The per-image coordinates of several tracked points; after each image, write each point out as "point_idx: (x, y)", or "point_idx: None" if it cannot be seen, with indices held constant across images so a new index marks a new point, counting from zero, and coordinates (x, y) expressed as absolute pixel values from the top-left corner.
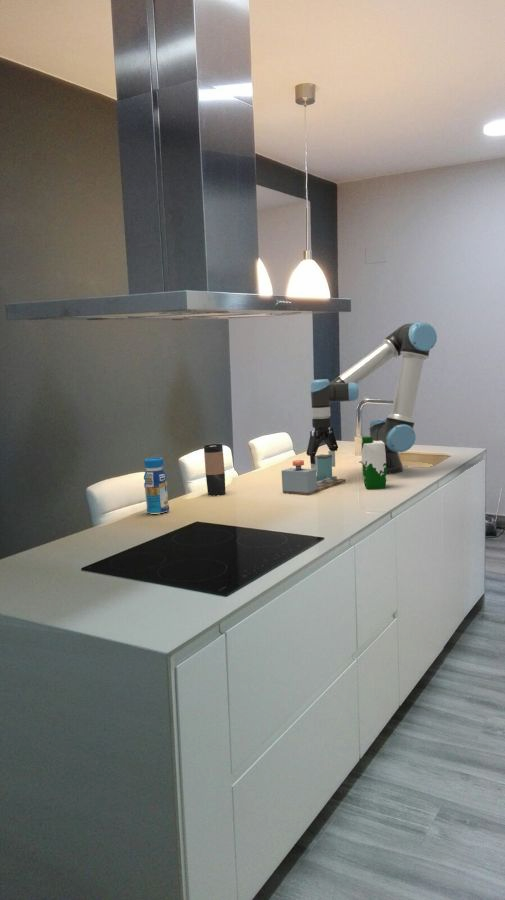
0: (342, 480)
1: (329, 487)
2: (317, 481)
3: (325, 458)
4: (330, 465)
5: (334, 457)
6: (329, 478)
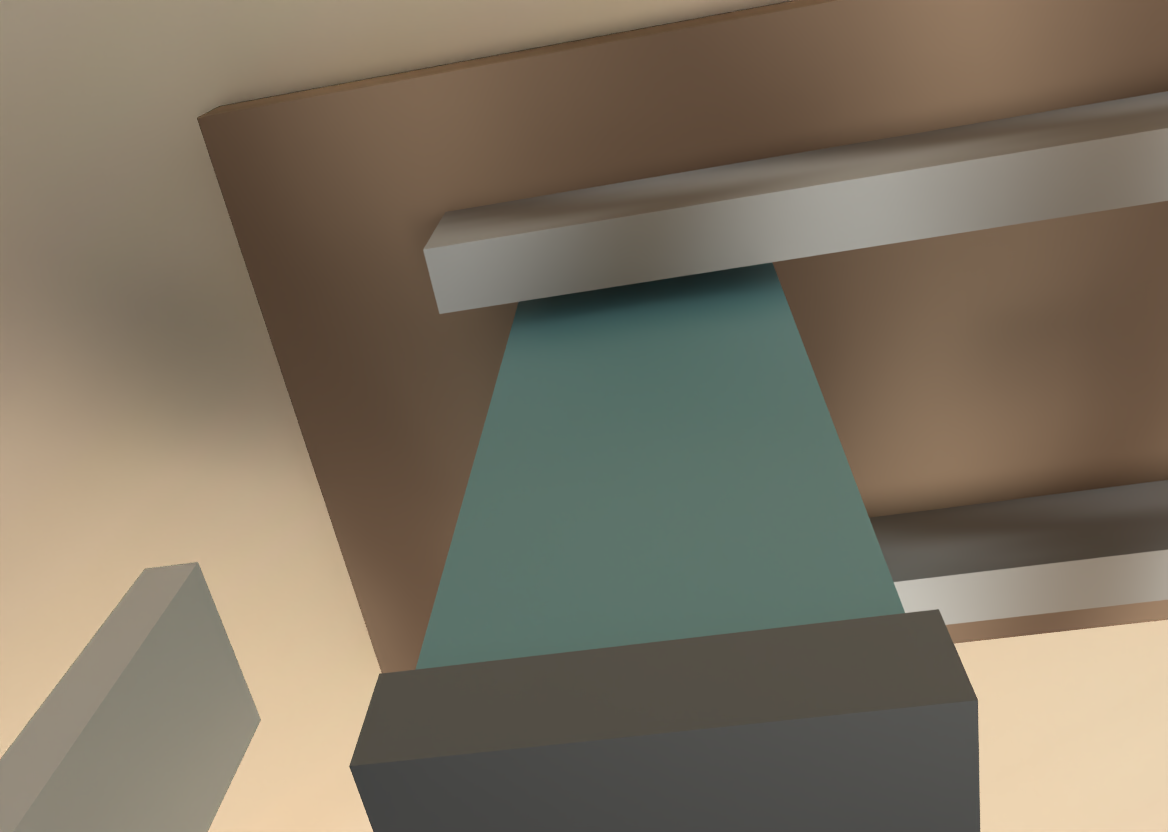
0: (336, 103)
1: None
2: None
3: (948, 662)
4: (559, 474)
5: (18, 787)
6: (807, 185)
